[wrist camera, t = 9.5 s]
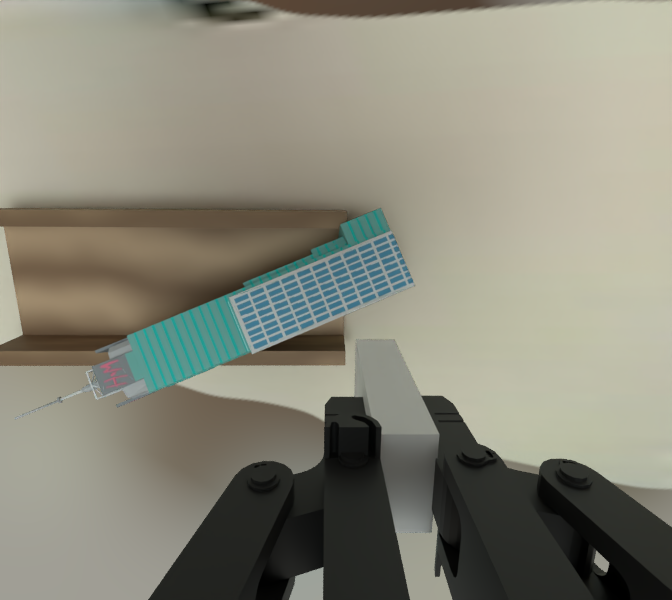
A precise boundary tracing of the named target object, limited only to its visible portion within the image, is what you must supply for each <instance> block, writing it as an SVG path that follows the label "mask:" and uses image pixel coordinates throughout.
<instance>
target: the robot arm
mask: <svg viewBox="0 0 672 600" xmlns="http://www.w3.org/2000/svg"><path fill="white" fill-rule="evenodd" d="M324 431H325V432H324V457H323V459H322V460H321V462H320V463H319V464H318V465H317V466H315V467H313V468H312V469H310V470H308V471H305V472H302V473H298V474H293V473H292V471H291V469H289V468H288V467H287V466H286V465H284V464H281V463H278V462H274V461H262V462H258V463H253V464H251V465H249V466H247V467H245V468H243V469H241V470H240V471H239V472H238V474H236V475H235V477H234V478H233V479H232V481H231V482H230V484H229V485H228V487H227V488H226V490H225V491H224V492H223V494H222V495H221V497H220V498H219V499H218V501H217V502H216V504H215V505H214V507H213V508H212V510H211V511H210V512H209V514H208V515H207V517H206V518H205V519H204V521H203V522H202V524H201V525H200V527H199V528H198V529H197V531H196V532H195V534H194V535H193V537H192V538H191V539H190V541H189V543H188V544H187V545H186V547H185V548H184V549H183V551H182V552H181V554H180V555H179V557H178V558H177V559H176V561H175V562H174V564H173V565H172V567H171V568H170V569H169V571H168V572H167V574H166V575H165V577H164V578H163V579H162V581H161V582H160V584H159V585H158V587H157V588H156V589H155V591H154V592H153V594H152V595H151V597H150V598H149V599H148V600H289V597H290V595H291V592H292V589H293V586H294V582H295V576H297V575H300V574H303V573H306V572H309V571H312V570H315V569H318V568H322V567H324V571H323V572H324V573H323V575H324V576H323V578H324V580H323V600H410V598H409V594H408V589H407V584H406V579H405V574H404V569H403V564H402V560H401V555H400V550H399V545H398V540H397V536H396V533H414V532H415V533H418V532H419V533H421V532H422V533H423V532H425V533H427V532H432V520H433V515H434V518H435V521H436V524H437V527H438V534H437V546H436V557H435V577H439V576H440V567H441V565H442V567H443V570H444V573H445V576H446V579H447V583H448V586H449V589H450V593H451V596H452V599H453V600H672V527H671V526H669V525H668V524H666V523H665V522H664V521H662V520H661V519H660V518H658V517H657V516H656V515H654V514H653V513H652V512H650V511H649V510H648V509H646V508H645V507H643V506H642V505H641V504H639V503H638V502H637V501H635V500H634V499H633V498H631V497H630V496H629V495H627V494H626V493H624V492H623V491H622V490H620V489H619V488H618V487H616V486H615V485H614V484H612V483H611V482H610V481H608V480H607V479H606V478H604V477H603V476H602V475H600V474H599V473H597V472H596V471H594V470H592V469H591V468H589V467H587V466H585V465H583V464H580V463H577V462H576V461H572V460H567V459H549V460H547V461H544V462H543V463H542V465H541V466H540V470H539V475H537V474H532V473H527V472H522V471H517V470H513V469H509V468H507V466H506V465H505V464H504V462H503V460H502V459H501V458H500V457H499V456H498V455H497V454H496V452H495V451H493V450H491V449H489V448H487V447H486V446H483V445H480V444H478V443H477V442H476V440H475V438H474V437H473V435H472V434H471V432H470V430H469V429H468V427H467V425H466V424H465V422H463V419H462V417H461V416H460V415H459V412H458V411H457V409H456V407H455V406H454V404H453V403H451V402H450V401H449V400H447V399H446V398H444V397H443V396H421V394H420V392H419V390H418V388H417V386H416V384H415V382H414V380H413V378H412V375H411V373H410V371H409V369H408V367H407V365H406V363H405V361H404V359H403V357H402V354H401V352H400V350H399V348H398V346H397V344H396V342H395V340H372V339H356V353H355V394H354V397H331V398H330V399H329V401H328V402H327V403H326V404H325V427H324ZM596 550H597V551H598V552H599V553H600V554H601V555H602V556H603V557H604V558H605V559H606V560H607V561H608V562H609V568H608V571H607V573H606V572H604V571H603V570H601V569H600V568H599V567H598V566H597V565H596V564H595V563H594V559H595V554H596Z"/></svg>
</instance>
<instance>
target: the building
mask: <svg viewBox="0 0 672 600" xmlns="http://www.w3.org/2000/svg"><path fill="white" fill-rule="evenodd" d="M243 285H244V286H245V287H244V288H242V289H239V290H237V291H234V292H232V293H229V294H227V295H225V296H222V297H220V298H217V299H215V300H212V301H210V302H208V303H205V304H203V305H200V306H198V307H195V308H193V309H191V310H188V311H186V312H183V313H181V314H178V315H176V316H174V317H171V318H169V319H166V320H164V321H161V322H159V323H157V324H154V325H152V326H149V327H147V328H144V329H142V330H140V331H137V332H135V333H132V334H130V335H127V338H125V339H122V340H120V341H117V342H115V343H112V344H110V345H107V346H105V347H103V348H100V349H98V350H95V352H96V353H103V352H108V355H109V358H110V360H107V361H105V362H102V363H100V364H97V365H95V366H92V368H93V369H92V370H93V377H92V383H91V380H90V378H89V375H88V372H92V370H90V371H87V372H86V375H87V377H88V380H89V383H90V384H89V385H87V386H85V387H83V388H82V389H81V390H79V391H76V392H74V393H72V394H70V395H67V396H65V397H63V398H61V397H58V398H57V400H56V401H54V402H51V403H49V404H47V405H44V406H42V407H39V408H37V409H35V410H32V411H30V412H28V413H25V414H22V415H20V416H18V417H15V419H18V418H20V417H23V416H25V415H28V414H30V413H32V412H35V411H37V410H39V409H42V408H44V407H47V406H49V405H52V404H54V403H56V402H59V403H62V401H63V400H64V399H66V398H69V397H72V396H74V395H77V394H79V393H82V392H88V391H92V390H93V393H94V395H95V398H96V400H97V399H100V398H103V397H106V396H109V395H112V394H114V393H117V392H119V391H121V390H123V392H124V393H125V395H126V396H127V397H128V398H131V399H129V400H126V401H124V402H122V403H119V404H117V405H116V406H117V407H120V406H122V405H125V404H127V403H130V402H132V401H135V400H137V399H140V398H142V397H144V396H147V395H149V394H151V393H154V392H156V391H158V390H160V389H162V388H164V387H170V386H172V385H174V384H176V383H178V382H181V381H184V380H186V379H188V378H191V377H193V376H195V375H198V374H201V373H203V372H205V371H208V370H210V369H212V368H215V367H216V366H219V365H221V364H224V363H226V362H229V361H231V360H234V359H236V358H238V357H241V356H243V355H246V354H248V353H250V352H251V353H252V354H254V353H256V352H259V351H261V350H264V349H266V348H268V347H271V346H273V345H275V344H278V343H280V342H283V341H285V340H287V339H290V338H292V337H294V336H297V335H299V334H302V333H304V332H306V331H309V330H311V329H313V328H316V327H318V326H321V325H323V324H325V323H328V322H330V321H332V320H335V319H337V318H340V317H342V316H344V315H347V314H349V313H351V312H354V311H356V310H358V309H361V308H363V307H366V306H368V305H370V304H373V303H375V302H377V301H380V300H382V299H385V298H387V297H389V296H392V295H394V294H396V293H399V292H401V291H404V290H406V289H408V288H410V287H413V286H415V284H414V282H413V280H412V278H411V275H410V273H409V271H408V268H407V266H406V264H405V262H404V259H403V257H402V255H401V252H400V250H399V247H398V245H397V242H396V240H395V238H394V236H393V233H392V231H390V228H389V226H388V224H387V222H386V219H385V217H384V215H383V212H382V210H381V208H379V209H377V210H374V211H372V212H369V213H367V214H365V215H362V216H360V217H357V218H355V219H352V220H350V221H347V222H345V223H343V224H340V229H339V236H338V238H337V239H335V240H333V241H331V242H329V243H326V244H324V245H321V246H319V247H316V248H314V249H312V250H311V255H310V256H307V257H305V258H302V259H300V260H297V261H295V262H293V263H290V264H288V265H285V266H283V267H280V268H278V269H275V270H273V271H271V272H268V273H266V274H263V275H261V276H258V277H256V278H254V279H251V280H249V281H246V282H244V283H243ZM94 374H95V376H96V379H97V381H96V380H95V381H96V382H95V381H94V382H93V379H94ZM97 388H100V389H101V392H102V394H101V392H99V391H98V390H97ZM94 389H95V390H96V391H98V392H99V393H100V394H101V395H102V397H99V398H97V396H96V393H95V390H94ZM118 389H119V390H118ZM113 391H114V392H113ZM108 393H109V394H108ZM106 394H107V395H106Z"/></svg>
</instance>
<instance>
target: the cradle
mask: <svg viewBox="0 0 672 600" xmlns="http://www.w3.org/2000/svg"><path fill="white" fill-rule="evenodd" d="M345 222H347V212H346V211H344V210H215V209H65V208H0V226H4V230H5V236H6V241H7V247H8V252H9V258H10V264H11V269H12V275H13V280H14V286H15V292H16V297H17V303H18V309H19V314H20V320H21V325H22V331H23V335H22V336H20V337H18V338H15V339H13V340H11V341H8V342H6V343H4V344H2V345H0V366H3V365H4V366H8V365H9V366H23V365H24V366H27V365H28V366H37V365H38V366H39V365H40V366H55V365H56V366H67V365H68V366H71V365H72V366H73V365H74V366H79V365H80V366H83V365H84V366H95V365H97V364H100V363H102V362H105V361H107V360H110V358H109V355H108V352H103V353H96V352H95V350H98V349H100V348H103V347H105V346H107V345H110V344H112V343H115V342H117V341H120V340H122V339H125V338H127V335H130V334H132V333H135V332H137V331H140V330H142V329H144V328H147V327H149V326H152V325H154V324H157V323H159V322H161V321H164V320H166V319H169V318H171V317H174V316H176V315H178V314H181V313H183V312H186V311H188V310H191V309H193V308H195V307H198V306H200V305H203V304H205V303H208V302H210V301H212V300H215V299H217V298H220V297H222V296H225V295H227V294H229V293H232V292H234V291H237V290H239V289H242V288H244V287H245V286H244V285H243V283H244V282H246V281H249V280H251V279H254V278H256V277H258V276H261V275H263V274H266V273H268V272H271V271H273V270H275V269H278V268H280V267H283V266H285V265H288V264H290V263H293V262H295V261H297V260H300V259H302V258H305V257H307V256H310V255H311V250H312V249H314V248H316V247H319V246H321V245H324V244H326V243H329V242H331V241H333V240H335V239H337V238H338V236H339V229H340V224H343V223H345ZM343 331H344V316H342V317H340V318H337V319H335V320H332V321H330V322H328V323H325V324H323V325H321V326H318V327H316V328H313V329H311V330H309V331H306V332H304V333H302V334H299V335H297V336H294V337H292V338H290V339H287V340H285V341H283V342H280V343H278V344H275V345H273V346H271V347H268V348H266V349H264V350H261V351H259V352H256V353H254V354H252V353H251V352H250V353H248V354H246V355H243V356H241V357H238V358H236V359H234V360H231V361H229V362H226V363H224V364H221V365H345V344H344V336H343Z"/></svg>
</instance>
